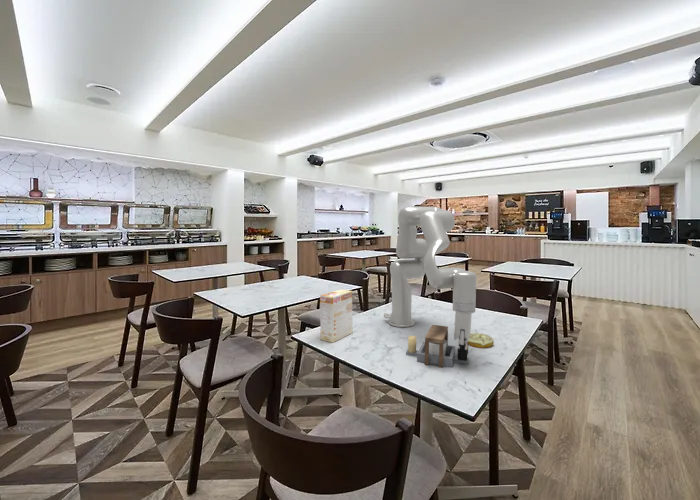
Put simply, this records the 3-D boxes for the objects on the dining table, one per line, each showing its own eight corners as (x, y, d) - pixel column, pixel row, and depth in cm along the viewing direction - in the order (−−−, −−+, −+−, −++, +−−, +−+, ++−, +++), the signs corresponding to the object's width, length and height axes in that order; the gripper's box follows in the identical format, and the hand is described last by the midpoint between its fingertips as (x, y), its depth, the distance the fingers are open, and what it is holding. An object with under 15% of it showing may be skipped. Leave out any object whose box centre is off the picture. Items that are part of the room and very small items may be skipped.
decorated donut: (460, 345, 132) (461, 336, 132) (472, 338, 140) (472, 329, 139) (486, 352, 125) (486, 342, 124) (497, 344, 132) (497, 335, 132)
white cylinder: (436, 364, 114) (436, 345, 113) (423, 357, 120) (423, 339, 119) (450, 360, 117) (450, 341, 116) (437, 353, 123) (437, 335, 122)
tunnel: (424, 366, 112) (425, 337, 112) (431, 350, 126) (431, 324, 126) (442, 369, 110) (443, 339, 109) (447, 352, 124) (448, 326, 123)
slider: (403, 359, 117) (403, 341, 116) (410, 347, 128) (410, 331, 127) (467, 369, 108) (468, 350, 108) (469, 356, 119) (469, 338, 119)
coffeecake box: (340, 330, 151) (340, 288, 149) (353, 333, 147) (353, 290, 145) (319, 339, 139) (319, 294, 137) (332, 343, 135) (332, 297, 133)
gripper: (454, 300, 122) (453, 346, 124) (450, 311, 107) (449, 364, 108) (476, 301, 119) (474, 349, 121) (474, 313, 104) (473, 368, 105)
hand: (462, 356), depth 115 cm, fingers open, 4 cm apart
